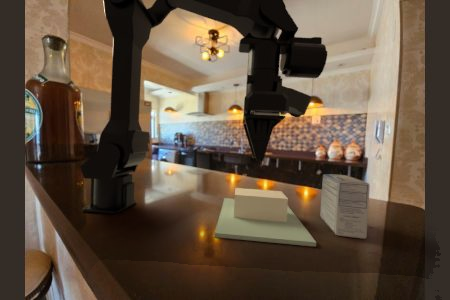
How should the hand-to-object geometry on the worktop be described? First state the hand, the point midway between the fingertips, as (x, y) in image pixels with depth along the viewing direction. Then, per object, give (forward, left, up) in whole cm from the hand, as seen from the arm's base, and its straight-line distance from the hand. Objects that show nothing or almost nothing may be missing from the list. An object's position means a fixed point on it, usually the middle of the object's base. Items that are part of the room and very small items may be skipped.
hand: (257, 158), depth 35 cm
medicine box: (+15, -2, -11) cm, 19 cm away
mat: (+1, -1, -11) cm, 11 cm away
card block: (+1, -1, -10) cm, 10 cm away
